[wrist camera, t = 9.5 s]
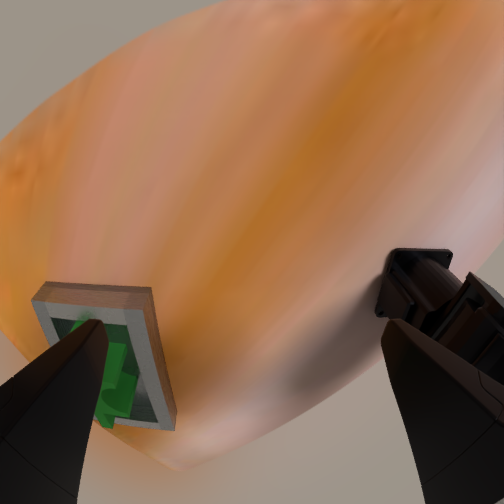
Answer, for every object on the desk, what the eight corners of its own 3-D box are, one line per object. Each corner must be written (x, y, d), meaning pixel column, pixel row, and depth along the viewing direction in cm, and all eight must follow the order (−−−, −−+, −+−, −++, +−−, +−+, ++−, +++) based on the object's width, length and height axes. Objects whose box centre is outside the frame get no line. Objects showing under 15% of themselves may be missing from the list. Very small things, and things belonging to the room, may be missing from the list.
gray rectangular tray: (151, 287, 22) (142, 310, 19) (177, 410, 29) (174, 430, 27) (45, 281, 21) (30, 300, 18) (97, 400, 29) (91, 418, 26)
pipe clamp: (144, 396, 27) (137, 433, 23) (112, 392, 27) (102, 427, 23) (118, 317, 22) (102, 358, 18) (79, 313, 22) (59, 351, 18)
